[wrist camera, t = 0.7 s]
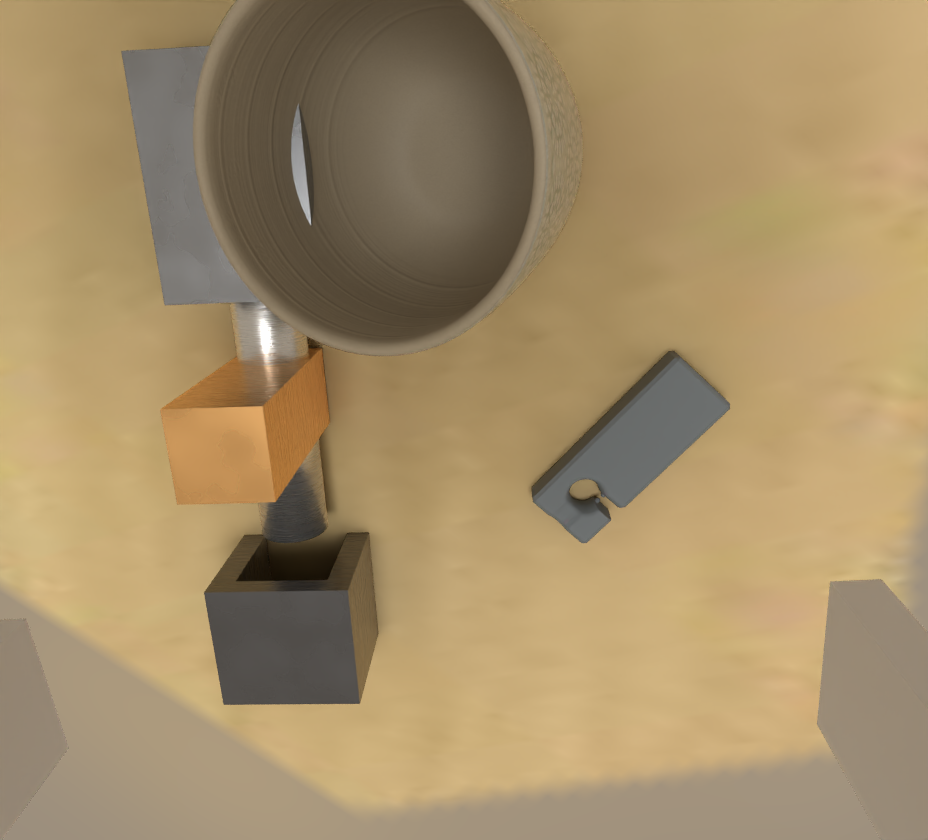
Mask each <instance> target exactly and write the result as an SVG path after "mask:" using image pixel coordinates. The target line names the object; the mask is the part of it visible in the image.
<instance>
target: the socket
mask: <svg viewBox="0 0 928 840" xmlns="http://www.w3.org/2000/svg"><path fill="white" fill-rule="evenodd" d="M204 595H205V600H206V606H207V612H208V618H209V623H210V629H211V635H212V640H213V646H214V652H215V658H216V663H217V669H218V675H219V680H220V686H221V692H222V698H223V703H224V705H243V704H360V701H361V698H362V694H363V690H364V686H365V682H366V679H367V675H368V671H369V667H370V663H371V660H372V656H373V652H374V648H375V644H376V641H377V637H378V626H377V615H376V604H375V594H374V583H373V572H372V562H371V551H370V540H369V533H347V535H346V538H345V540H344V542H343V545H342V547H341V549H340V552H339V554H338V556H337V559H336V561H335V564H334V566H333V568H332V571H331V573H330V575H329V578H328V580H294V581H272V576H271V569H270V562H269V555H268V548H267V541H266V538H265V537H264V536H263V535H244V537H243V538H242V540H241V541H240V542H239V544H238V545H237V547H236V548H235V550H234V551H233V552H232V554H231V555H230V557H229V558H228V559H227V561H226V562H225V564H224V565H223V567H222V568H221V569H220V571H219V572H218V574H217V575H216V577H215V578H214V579H213V581H212V582H211V584H210V585H209V586H208V588H207V589H206V591H205V592H204Z"/></svg>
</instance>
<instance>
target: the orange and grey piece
mask: <svg viewBox="0 0 928 840" xmlns="http://www.w3.org/2000/svg"><path fill="white" fill-rule="evenodd" d="M230 309H231V316H232V323H233V330H234V337H235V344H236V351H237V356H236V357H235V358H234V359H232V360H231V361H229V362H228V363H226V364H225V365H223V366H222V367H221V368H219V369H218V370H216V371H215V372H213V373H212V374H211V375H209V376H208V377H206V378H205V379H203V380H202V381H200V382H199V383H198V384H196V385H195V386H193V387H192V388H190V389H189V390H187V391H186V392H185V393H183V394H182V395H180V396H179V397H177V398H176V399H175V400H173V401H172V402H170V403H169V404H167V405H166V406H164V407H163V408H162V409H160V411H161V416H162V422H163V427H164V433H165V438H166V444H167V450H168V455H169V461H170V466H171V472H172V477H173V483H174V488H175V494H176V499H177V504H221V503H258V505H259V512H260V519H261V526H262V533H263V536H264V537H265V538H266V539H268V540H270V541H273V542H278V543H294V542H301V541H305V540H308V539H311V538H314V537H316V536H318V535H320V534H321V533H323V532H324V531H325V530H326V529H327V527H328V518H327V509H326V500H325V491H324V482H323V473H322V464H321V455H320V447H319V438H320V436H321V435H322V433H323V432H324V430H325V429H326V427H327V426H328V424H329V423H330V420H329V411H328V402H327V392H326V383H325V374H324V364H323V355H322V348H311V349H309V348H308V340H307V336H305V335H304V334H302V333H300V332H298V331H297V330H295V329H294V328H292V327H291V326H289V325H288V324H286V323H285V322H284V321H282V320H281V319H280V318H278V317H277V316H276V315H275V314H273V313H272V312H271V311H270V310H269V309H268V308H267V307H266V306H265V305H264V304H263V303H262V302H234V303H230Z"/></svg>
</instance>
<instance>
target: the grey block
mask: <svg viewBox="0 0 928 840" xmlns="http://www.w3.org/2000/svg"><path fill="white" fill-rule="evenodd" d="M209 47H210V46H199V47H182V48H165V49H148V50H130V51H121V52H122V58H123V63H124V69H125V75H126V81H127V87H128V93H129V99H130V104H131V110H132V116H133V122H134V128H135V134H136V140H137V146H138V151H139V157H140V163H141V169H142V175H143V181H144V187H145V192H146V198H147V204H148V210H149V216H150V222H151V228H152V234H153V239H154V245H155V251H156V257H157V263H158V269H159V275H160V280H161V286H162V292H163V298H164V304H165V305H182V304H208V303H234V302H260V300H259V299H258V298H257V297H256V296H255V295H254V294H253V293H252V292H251V291H250V289H249V288H248V287H247V286H246V285H245V283H244V282H243V281H242V280H241V278H240V277H239V275H238V274H237V273H236V271H235V270H234V268H233V267H232V265H231V264H230V262H229V260H228V259H227V257H226V255H225V254H224V252H223V250H222V248H221V246H220V244H219V242H218V240H217V238H216V236H215V234H214V231H213V229H212V227H211V224H210V222H209V219H208V216H207V213H206V210H205V207H204V204H203V201H202V197H201V193H200V189H199V185H198V179H197V174H196V168H195V160H194V148H193V117H194V106H195V98H196V92H197V87H198V82H199V78H200V73H201V70H202V66H203V63H204V60H205V57H206V54H207V52H208V49H209ZM291 161H292V171H293V177H294V182H295V187H296V191H297V194H298V197H299V200H300V203H301V206H302V208H303V211H304V213H305V215H306V217H307V219H308V221H309V223H310V225H311V227H312V221H313V212H314V180H313V167H312V158H311V151H310V145H309V140H308V135H307V130H306V126H305V122H304V118H303V114H302V111H301V108H300V105H299V103H298V106H297V110H296V114H295V118H294V123H293V130H292V139H291Z"/></svg>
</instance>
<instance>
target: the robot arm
mask: <svg viewBox="0 0 928 840" xmlns="http://www.w3.org/2000/svg"><path fill="white" fill-rule="evenodd" d="M817 725H818V727H819V729H820V730H821V732H822V734H823V736H824V738H825V739H826V741H827V743H828V745H829V747H830V749H831V750H832V752H833V754H834V756H835V758H836V759H837V761H838V763H839V765H840V766H841V769H842V770H843V772H844V774H845V776H846V778H847V779H848V781H849V783H850V785H851V786H852V788H853V790H854V792H855V794H856V796H857V798H858V799H859V801H860V803H861V805H862V807H863V808H864V810H865V812H866V814H867V816H868V817H869V819H870V821H871V823H872V825H873V827H874V828H875V830H876V832H877V834H878V836H879V838H880V839H881V840H928V631H927V630H926V629H925V628H924V627H923V626H922V625H921V624H920V622H919V621H918V620H917V619H916V618H915V617H914V616H913V614H912V613H911V612H910V611H909V610H908V609H907V608H906V607H905V605H904V604H903V603H902V602H901V601H900V600H899V599H898V598H897V596H896V595H895V594H894V593H893V592H892V591H891V590H890V589H889V587H888V586H887V585H886V584H885V583H884V582H883V581H882V580H881V579H877V580H855V581H834V582H830V589H829V600H828V611H827V621H826V632H825V643H824V654H823V665H822V676H821V687H820V698H819V709H818V720H817ZM68 748H69V747H68V744H67V741H66V738H65V735H64V732H63V729H62V726H61V723H60V720H59V717H58V714H57V711H56V708H55V705H54V702H53V699H52V696H51V693H50V690H49V687H48V684H47V681H46V678H45V675H44V671H43V669H42V665H41V662H40V659H39V656H38V653H37V650H36V647H35V644H34V641H33V639H32V635H31V632H30V629H29V626H28V623H27V620H26V619H4V620H0V840H2V839H3V838H4V837H5V835H6V834H7V832H8V831H9V830H10V828H11V827H12V826H13V824H14V823H15V821H16V820H17V819H18V817H19V816H20V814H21V813H22V812H23V810H24V809H25V808H26V806H27V805H28V803H29V802H30V801H31V799H32V798H33V797H34V795H35V794H36V793H37V791H38V790H39V788H40V787H41V786H42V784H43V783H44V782H45V780H46V779H47V777H48V776H49V775H50V773H51V772H52V770H53V769H54V768H55V766H56V765H57V764H58V762H59V761H60V760H61V758H62V757H63V756H64V754H65V753H66V751H67V750H68Z"/></svg>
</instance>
